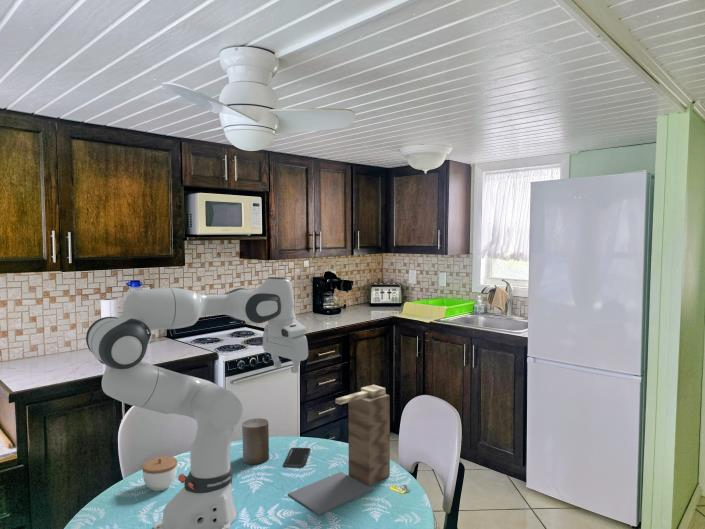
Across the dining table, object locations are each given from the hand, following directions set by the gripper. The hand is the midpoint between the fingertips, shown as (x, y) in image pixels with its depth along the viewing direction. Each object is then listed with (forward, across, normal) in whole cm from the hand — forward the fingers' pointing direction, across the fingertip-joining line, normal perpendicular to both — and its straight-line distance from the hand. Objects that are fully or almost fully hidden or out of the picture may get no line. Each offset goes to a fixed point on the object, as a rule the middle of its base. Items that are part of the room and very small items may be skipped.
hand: (286, 369), depth 153 cm
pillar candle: (+40, -28, +2) cm, 49 cm away
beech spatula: (+14, +10, +22) cm, 28 cm away
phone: (+42, -18, +13) cm, 47 cm away
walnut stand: (+42, +10, +23) cm, 49 cm away
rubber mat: (+40, +10, +6) cm, 42 cm away
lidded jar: (+37, -32, -32) cm, 58 cm away
